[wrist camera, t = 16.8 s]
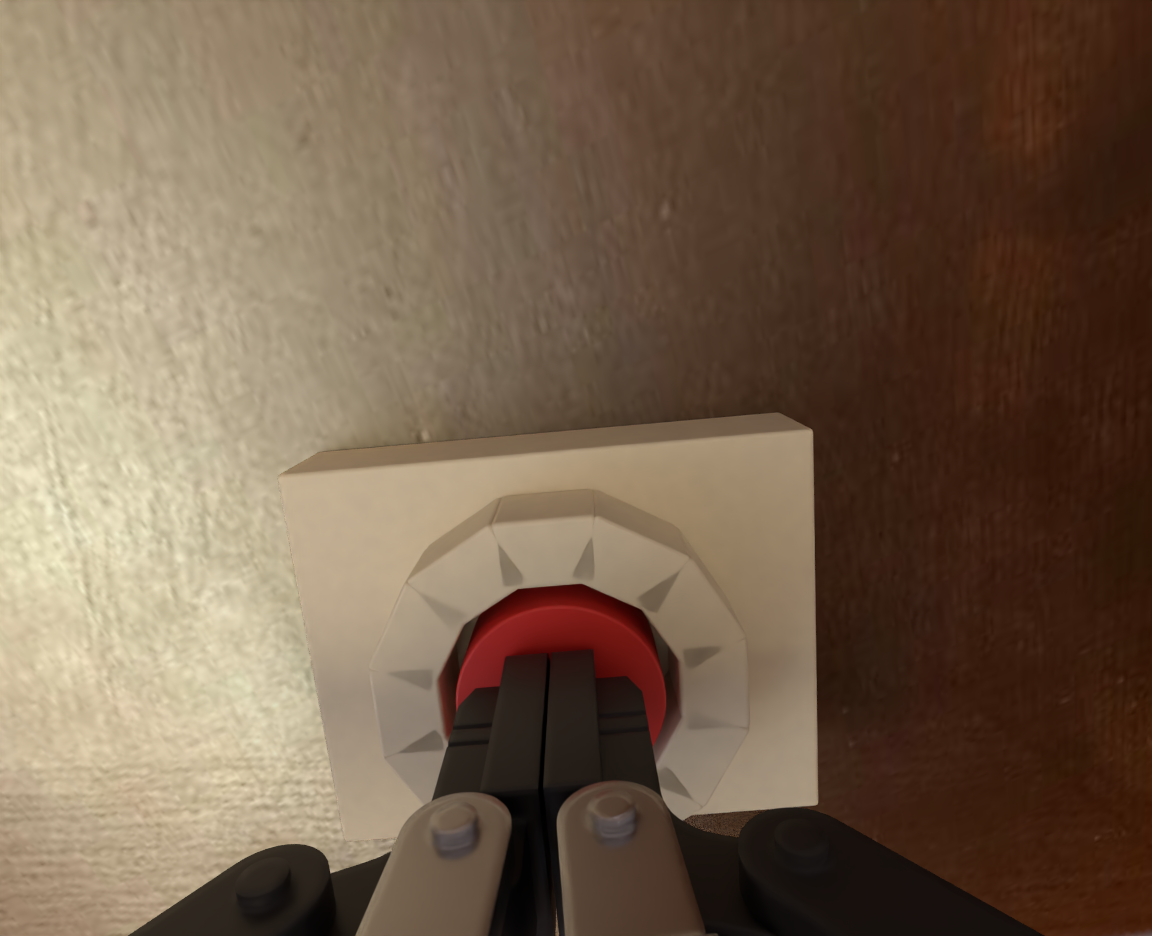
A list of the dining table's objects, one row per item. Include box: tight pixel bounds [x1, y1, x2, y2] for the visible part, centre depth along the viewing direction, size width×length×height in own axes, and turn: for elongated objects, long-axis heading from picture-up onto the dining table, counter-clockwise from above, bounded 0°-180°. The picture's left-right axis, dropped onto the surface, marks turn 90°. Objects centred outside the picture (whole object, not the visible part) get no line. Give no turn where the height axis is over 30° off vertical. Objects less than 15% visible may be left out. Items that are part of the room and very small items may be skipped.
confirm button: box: [456, 584, 666, 747], centre depth 13 cm, size 4×4×2 cm
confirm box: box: [277, 412, 818, 842], centre depth 14 cm, size 10×8×4 cm
